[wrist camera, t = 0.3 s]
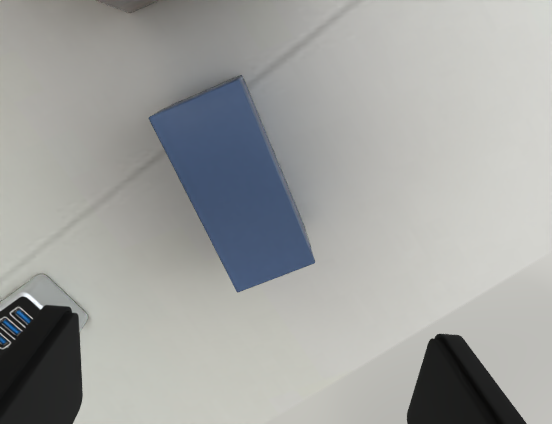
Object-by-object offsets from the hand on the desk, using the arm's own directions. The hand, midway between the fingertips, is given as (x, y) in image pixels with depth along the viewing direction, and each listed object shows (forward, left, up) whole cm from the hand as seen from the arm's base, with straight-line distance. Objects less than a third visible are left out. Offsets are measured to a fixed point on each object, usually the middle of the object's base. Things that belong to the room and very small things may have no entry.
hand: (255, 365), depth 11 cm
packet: (-2, 0, -15) cm, 15 cm away
